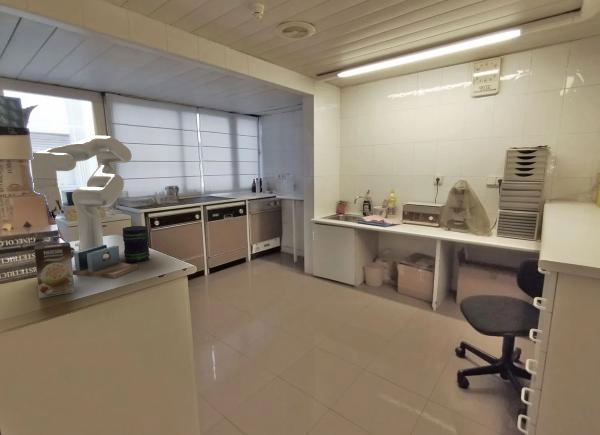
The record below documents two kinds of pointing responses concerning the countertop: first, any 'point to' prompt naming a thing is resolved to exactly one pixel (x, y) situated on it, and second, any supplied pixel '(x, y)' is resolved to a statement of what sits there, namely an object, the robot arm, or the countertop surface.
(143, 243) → the storage jar
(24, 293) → the countertop surface
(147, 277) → the countertop surface
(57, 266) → the coffee box
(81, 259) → the bearing blocks
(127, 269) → the base plate
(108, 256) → the shaft
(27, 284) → the countertop surface
